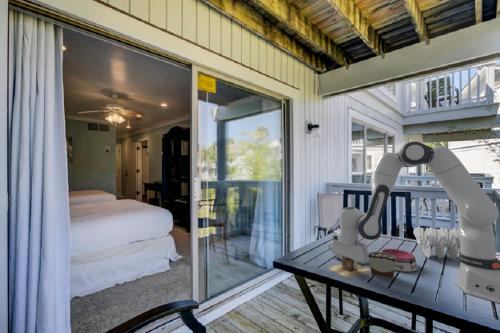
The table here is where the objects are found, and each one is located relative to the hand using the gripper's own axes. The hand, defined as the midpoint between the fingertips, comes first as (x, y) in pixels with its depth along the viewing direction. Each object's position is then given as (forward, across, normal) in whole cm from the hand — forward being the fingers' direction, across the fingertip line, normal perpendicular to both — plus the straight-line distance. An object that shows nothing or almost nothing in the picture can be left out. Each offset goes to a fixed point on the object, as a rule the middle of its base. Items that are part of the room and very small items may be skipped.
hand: (349, 265), depth 126 cm
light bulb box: (+2, +25, -22) cm, 33 cm away
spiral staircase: (+2, -14, -59) cm, 61 cm away
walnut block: (+2, 0, 0) cm, 2 cm away
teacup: (+2, +14, -9) cm, 17 cm away
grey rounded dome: (+2, +3, -15) cm, 15 cm away
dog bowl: (+2, -8, -26) cm, 27 cm away
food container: (+2, -12, -9) cm, 15 cm away
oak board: (+2, 0, 0) cm, 2 cm away
